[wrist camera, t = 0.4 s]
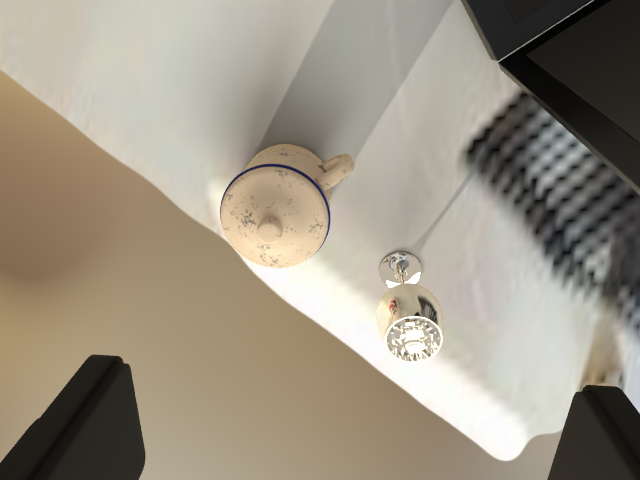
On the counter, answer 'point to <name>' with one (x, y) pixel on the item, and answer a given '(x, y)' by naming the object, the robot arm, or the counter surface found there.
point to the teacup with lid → (281, 205)
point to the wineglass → (408, 311)
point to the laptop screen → (590, 80)
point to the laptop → (515, 21)
